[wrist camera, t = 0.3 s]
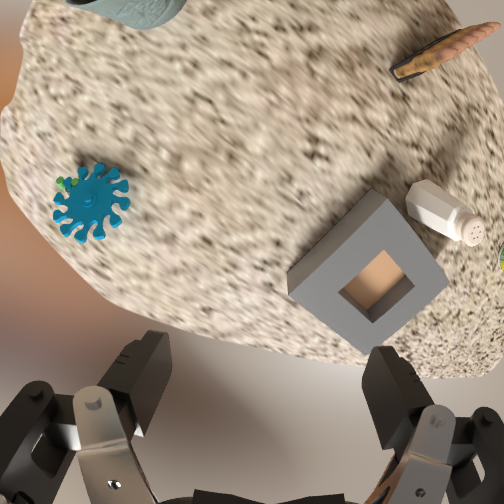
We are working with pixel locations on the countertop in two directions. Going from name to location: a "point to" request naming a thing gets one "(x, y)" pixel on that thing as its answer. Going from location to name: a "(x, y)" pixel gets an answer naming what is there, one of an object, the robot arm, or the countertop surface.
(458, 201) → the pepper shaker
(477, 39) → the ammunition clip
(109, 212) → the blue t-shaped piece
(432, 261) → the frame
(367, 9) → the countertop surface
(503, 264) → the supplement bottle
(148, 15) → the blue cup
